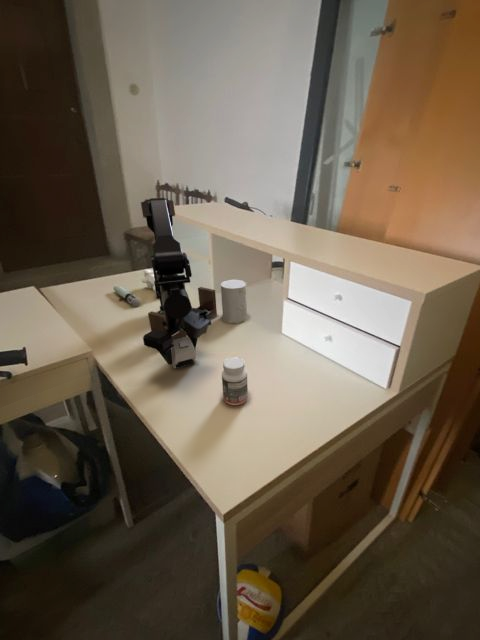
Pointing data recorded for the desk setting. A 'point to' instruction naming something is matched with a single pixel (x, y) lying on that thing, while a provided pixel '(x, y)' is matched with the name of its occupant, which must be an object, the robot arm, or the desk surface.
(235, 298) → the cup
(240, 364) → the pill bottle
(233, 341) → the desk surface
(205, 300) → the brown book rack
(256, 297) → the desk surface
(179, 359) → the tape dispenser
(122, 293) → the flashlight
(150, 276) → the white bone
